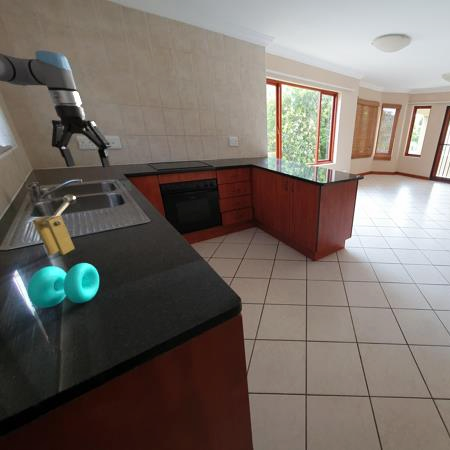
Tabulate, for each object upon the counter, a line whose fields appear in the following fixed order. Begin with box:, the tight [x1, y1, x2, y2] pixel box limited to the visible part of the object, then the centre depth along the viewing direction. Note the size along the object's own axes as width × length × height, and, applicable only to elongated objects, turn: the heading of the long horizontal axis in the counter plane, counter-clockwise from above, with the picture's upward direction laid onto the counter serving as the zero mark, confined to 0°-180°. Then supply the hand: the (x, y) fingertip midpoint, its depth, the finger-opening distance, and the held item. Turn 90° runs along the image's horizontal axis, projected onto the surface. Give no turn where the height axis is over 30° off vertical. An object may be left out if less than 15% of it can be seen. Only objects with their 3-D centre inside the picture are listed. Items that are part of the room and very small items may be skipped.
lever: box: [41, 194, 77, 229], centre depth 81 cm, size 14×3×3 cm, turn 1°
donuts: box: [27, 262, 100, 309], centre depth 59 cm, size 10×10×10 cm
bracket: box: [32, 215, 75, 256], centre depth 79 cm, size 10×8×14 cm
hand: (89, 166), depth 92 cm, fingers open, 13 cm apart
